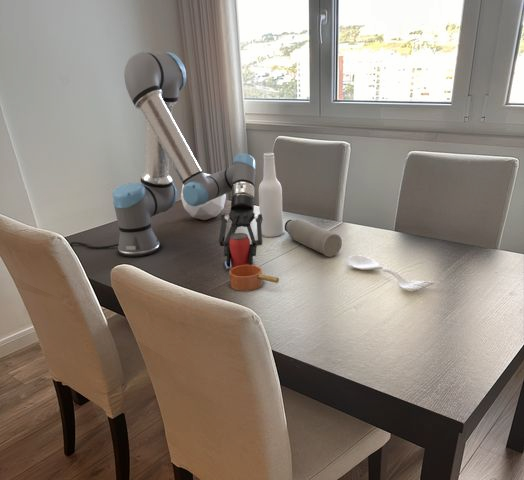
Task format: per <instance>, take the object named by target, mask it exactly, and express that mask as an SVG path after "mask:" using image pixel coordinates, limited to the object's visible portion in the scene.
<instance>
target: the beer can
mask: <svg viewBox="0 0 524 480" xmlns="http://www.w3.org/2000/svg"><path fill="white" fill-rule="evenodd" d="M230 237H231V238H230V242H229V246H230V257H231V260H230V261H231V269H232V268H233V267H236V266H240V265H249V250H250V244H251V240H250V237H249V234H247V233H246V232H235V233H234V234H232V235H231V236H230Z"/></svg>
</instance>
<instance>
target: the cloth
mask: <svg viewBox="0 0 524 480" xmlns="http://www.w3.org/2000/svg"><path fill="white" fill-rule="evenodd" d="M224 266H225V269H226V270H227V271H230V270H231V260H230V267H228V266H227V264H226V260H225V261H224Z"/></svg>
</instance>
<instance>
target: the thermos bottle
mask: <svg viewBox="0 0 524 480" xmlns="http://www.w3.org/2000/svg"><path fill="white" fill-rule="evenodd" d="M284 231H285V232H287V234H288V236H289V237H290V238H291V239H292V240H294V241H295V242H298V243H300V244H302V245H304V246H306V247H308V248H309V249H311V250H314V251H316V252H318V253H319V254H322V255H324V256H325V257H328V258H332V257H334V256H337V254H339V252H340V251H341V249H342V246H343V245H342V244H343V242H342V241H343V240H342V238H341V236H340V235H339V234H337V233H335V232H333V231H330V230H328V229H325V228H324V227H320V226H318V225H316V224H314V223H311V222H310V221H307V220H304V219H302V218H296V219H288V220H287V221H286V222H285V223H284Z"/></svg>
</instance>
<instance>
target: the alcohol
mask: <svg viewBox="0 0 524 480" xmlns="http://www.w3.org/2000/svg"><path fill="white" fill-rule="evenodd" d="M282 187H283V186H282V184H281V182H280V181H279V179H277V172H276V163H275V153H274V152H265V153H263V177H262V181H261V182H260V183H259V185H258V206H259V214H261V215H262V218H263V220H262V223H261V230H262V237H265V238H266V237H267V238H275V237H279V236H281V235H282V234H283V232H284V222H283V221H284V220H283V218H284V216H283V215H284V214H283V188H282Z"/></svg>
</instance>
